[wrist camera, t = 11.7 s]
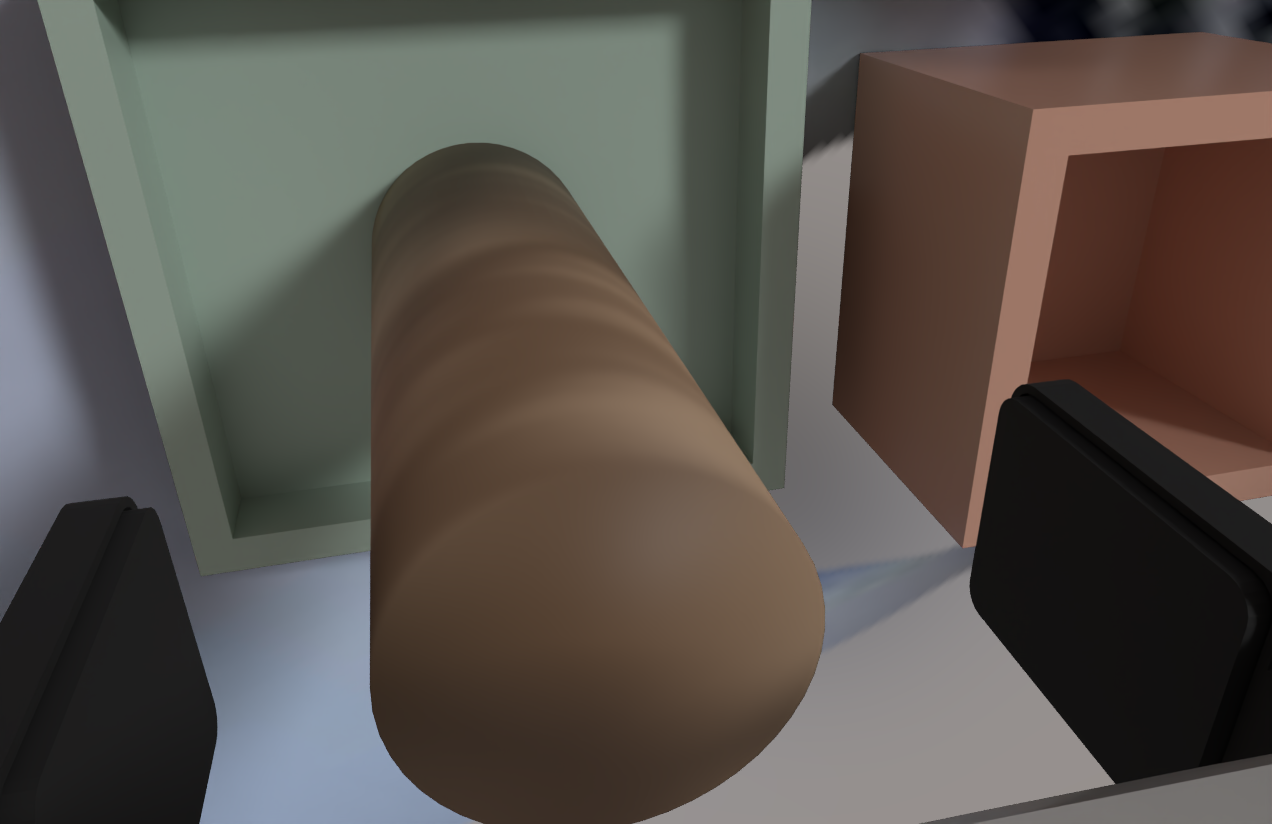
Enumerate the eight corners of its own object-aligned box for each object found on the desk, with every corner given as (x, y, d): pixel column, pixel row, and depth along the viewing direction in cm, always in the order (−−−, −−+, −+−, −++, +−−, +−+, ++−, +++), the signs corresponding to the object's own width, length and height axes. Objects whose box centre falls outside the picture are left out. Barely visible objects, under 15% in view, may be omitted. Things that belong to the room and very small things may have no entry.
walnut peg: (579, 134, 20) (841, 436, 9) (588, 334, 22) (811, 785, 11) (356, 150, 19) (332, 508, 8) (387, 357, 21) (404, 872, 10)
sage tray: (769, -83, 20) (815, -80, 18) (750, 439, 25) (784, 487, 23) (63, -60, 17) (21, -54, 15) (215, 514, 23) (200, 576, 21)
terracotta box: (1201, 31, 23) (1466, 76, 18) (1124, 365, 27) (1321, 487, 22) (860, 52, 21) (1033, 109, 16) (832, 404, 26) (962, 548, 20)
